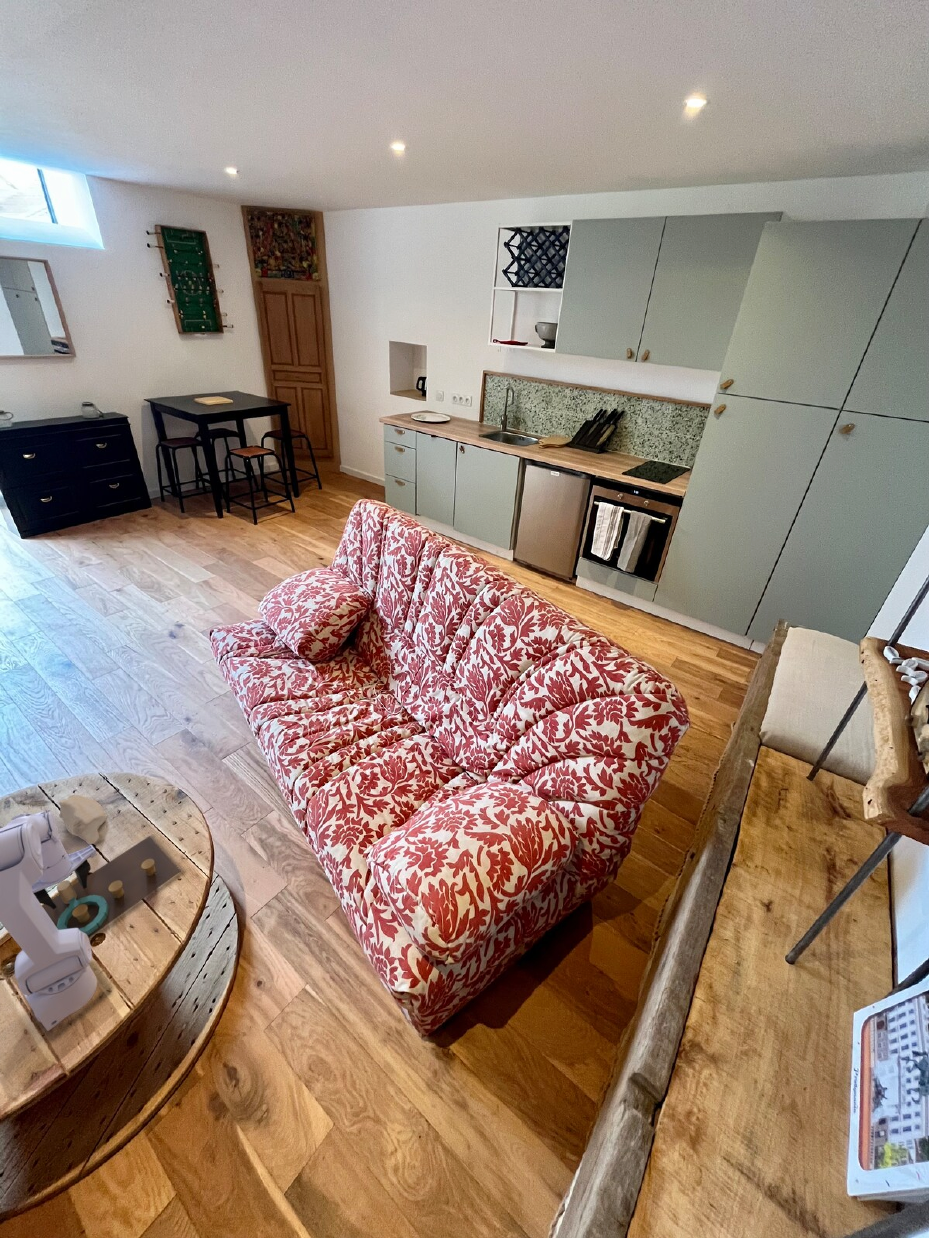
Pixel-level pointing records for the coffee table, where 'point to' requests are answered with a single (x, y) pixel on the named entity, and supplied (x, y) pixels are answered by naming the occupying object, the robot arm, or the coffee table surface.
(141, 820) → the coffee table surface
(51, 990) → the robot arm
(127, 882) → the rack
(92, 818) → the decorative stone
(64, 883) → the ring
